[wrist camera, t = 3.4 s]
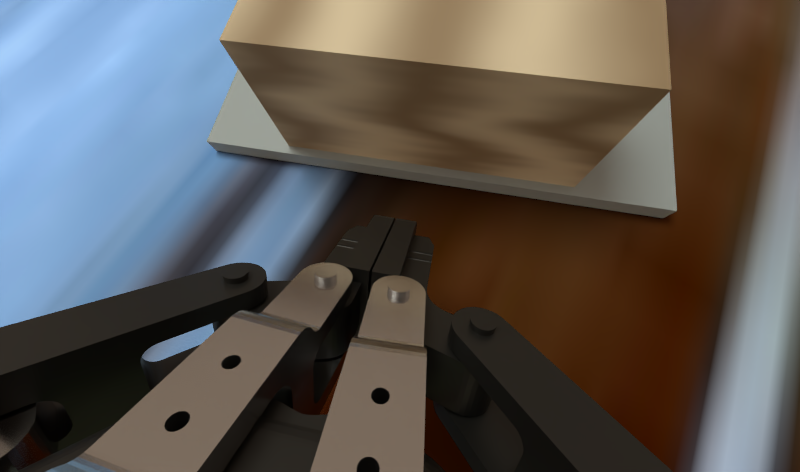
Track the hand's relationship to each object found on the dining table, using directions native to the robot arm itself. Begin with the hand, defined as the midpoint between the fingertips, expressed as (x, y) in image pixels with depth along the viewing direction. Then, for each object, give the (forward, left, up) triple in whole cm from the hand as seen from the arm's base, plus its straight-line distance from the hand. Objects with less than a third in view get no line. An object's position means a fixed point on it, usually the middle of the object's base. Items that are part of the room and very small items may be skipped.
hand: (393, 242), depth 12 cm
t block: (0, -14, -5) cm, 14 cm away
